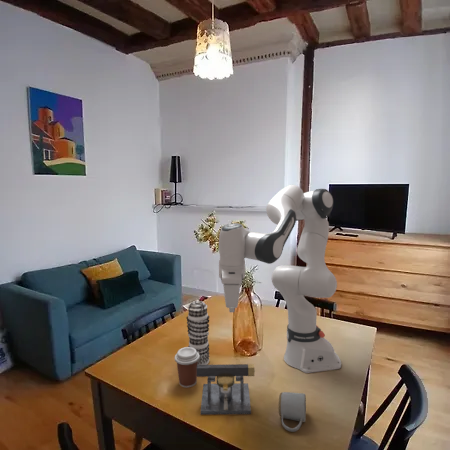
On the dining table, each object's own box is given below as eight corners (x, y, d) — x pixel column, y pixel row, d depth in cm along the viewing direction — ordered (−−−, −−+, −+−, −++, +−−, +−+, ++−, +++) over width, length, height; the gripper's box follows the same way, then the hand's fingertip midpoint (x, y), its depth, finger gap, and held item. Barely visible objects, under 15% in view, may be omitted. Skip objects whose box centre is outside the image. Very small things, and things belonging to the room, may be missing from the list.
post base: (248, 386, 118) (248, 365, 117) (250, 414, 104) (250, 390, 103) (203, 386, 118) (203, 365, 117) (200, 414, 104) (199, 390, 103)
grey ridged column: (207, 368, 130) (205, 308, 126) (184, 366, 131) (182, 306, 128) (212, 356, 138) (211, 299, 135) (191, 354, 140) (190, 298, 137)
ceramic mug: (280, 406, 108) (280, 385, 106) (305, 410, 105) (306, 388, 104) (276, 430, 97) (277, 407, 96) (305, 435, 95) (305, 412, 94)
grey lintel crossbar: (253, 373, 115) (253, 358, 114) (255, 390, 106) (255, 373, 105) (198, 374, 115) (198, 358, 114) (196, 391, 106) (195, 374, 105)
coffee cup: (176, 375, 125) (175, 345, 124) (200, 374, 126) (199, 344, 124) (174, 390, 116) (173, 359, 115) (200, 389, 117) (199, 357, 115)
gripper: (223, 264, 122) (223, 300, 123) (221, 280, 101) (221, 322, 103) (240, 264, 122) (240, 300, 123) (241, 280, 101) (241, 323, 103)
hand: (231, 310), depth 113 cm, fingers closed
